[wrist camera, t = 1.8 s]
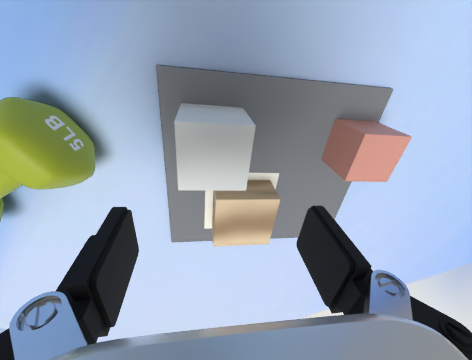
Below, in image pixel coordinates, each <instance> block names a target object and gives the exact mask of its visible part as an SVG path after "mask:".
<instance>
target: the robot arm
mask: <svg viewBox="0 0 472 360" xmlns="http://www.w3.org/2000/svg"><path fill="white" fill-rule="evenodd" d="M297 248H298V251H299V253H300V255H301V257H302V259H303V261H304V263H305V265H306V267H307V269H308V271H309V273H310V275H311V277H312V279H313V281H314V283H315V285H316V287H317V289H318V291H319V293H320V295H321V298H322V300H323V302H324V303H325V305H326V306H328V307H329V309H330V311H331V313H340V312H343V313H344V315H339V316H327V317H317V318H308V319H296V320H286V321H276V322H266V323H257V324H247V325H237V326H228V327H218V328H209V329H200V330H191V331H181V332H172V333H163V334H155V335H147V336H139V337H131V338H123V339H116V340H110V341H105V342H99V343H96V341H97V339H98V337H103V336H107V335H108V332H109V330H110V327H114V326H115V324H116V321H117V318H118V315H119V312H120V309H121V306H122V303H123V300H124V297H125V293H126V290H127V287H128V284H129V281H130V278H131V275H132V272H133V269H134V266H135V263H136V260H137V257H138V252H139V248H138V243H137V238H136V233H135V227H134V222H133V217H132V212H131V210H127V208H126V207H113V208H112V209H111V210H110V212H109V214H108V215H107V217H106V219H105V220H104V222H103V224H102V225H101V227H100V229H99V230H98V232H97V234H96V235H92V236H90V238H89V239H88V240H87V242H86V243H85V245H84V247H83V248H82V250H81V251H80V253H79V255H78V256H77V258H76V259H75V261H74V263H73V264H72V266H71V267H70V269H69V271H68V272H67V274H66V275H65V277H64V279H63V280H62V282H61V283H60V285H59V287H58V288H57V290H56V291H55V292H47V293H43V294H41V295H39V296H37V297H35V298H33V299H31V300H30V301H28V302H27V303H26V304H24V305H23V306H22V307H21V308H20V309H19V310H18V311H17V312H16V314H15V315H14V316H13V318H12V320H11V322H10V328H9V329H7V330H5V331H4V332H2V333H1V334H0V360H472V333H471V332H470V331H469V330H468V329H467V328H466V327H465V326H463V325H462V324H461V323H459V322H457V321H456V320H454V319H453V318H451V317H449V316H447V315H445V314H443V313H441V312H439V311H438V310H436V309H434V308H432V307H430V306H428V305H426V304H424V303H423V302H420V301H419V300H417V299H415V298H413V297H411V296H410V294H409V291H408V289H407V287H406V285H405V284H404V283H403V282H402V281H401V280H400V279H399V278H397V277H396V276H395V275H393V274H391V273H389V272H386V271H383V270H375V271H374V272H373V271H372V269H371V265H370V264H369V262H368V261H367V260H366V259H365V257H364V256H363V255H362V254H361V252H360V251H359V250H358V249H357V247H356V246H355V245H354V244H353V242H352V241H351V240H350V239H349V237H348V236H347V235H346V234H345V232H344V231H343V230H342V229H341V227H340V226H339V225H338V224H337V222H336V221H335V220H334V219H333V217H332V216H331V215H330V214H329V212H328V211H327V210H326V209H325V207H324V206H311V207H310V208H309V209H308V210H307V213H306V216H305V219H304V222H303V225H302V228H301V231H300V234H299V237H298V240H297Z"/></svg>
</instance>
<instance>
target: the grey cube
mask: <svg viewBox="0 0 472 360" xmlns="http://www.w3.org/2000/svg"><path fill="white" fill-rule="evenodd" d="M174 124H175V142H176V160H177V178H178V190H213V191H246V188H247V181H248V174H249V168H250V161H251V154H252V148H253V141H254V134H255V127H256V125H255V124H254V123H253V121H252V120H251V118H250V117H249V116H248V114H247V113H246V111H245V110H244V109H243V107H229V106H215V105H201V104H187V103H181V105H180V108H179V110H178V113H177V116H176V118H175V121H174Z"/></svg>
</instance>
